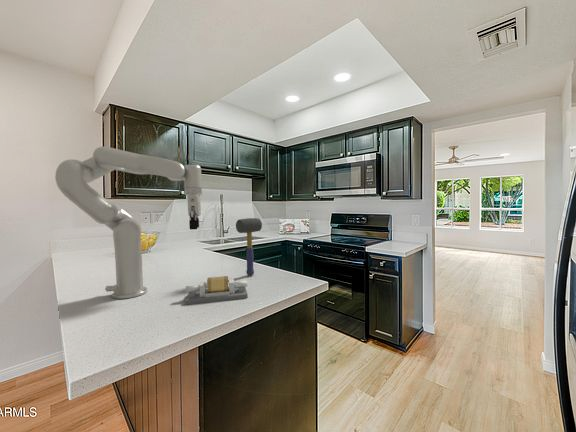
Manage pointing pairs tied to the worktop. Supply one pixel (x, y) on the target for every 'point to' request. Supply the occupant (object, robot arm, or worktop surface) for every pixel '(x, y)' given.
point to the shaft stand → (201, 296)
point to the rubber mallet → (249, 238)
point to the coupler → (217, 284)
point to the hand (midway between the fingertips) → (194, 228)
